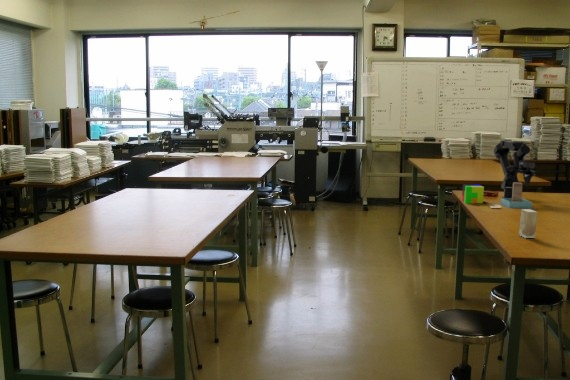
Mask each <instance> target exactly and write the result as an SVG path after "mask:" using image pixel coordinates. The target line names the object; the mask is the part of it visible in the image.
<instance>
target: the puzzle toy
mask: <svg viewBox="0 0 570 380" xmlns="http://www.w3.org/2000/svg"><path fill="white" fill-rule="evenodd" d="M461 191H462V193H461V195H462V196H461V201H462V202H463V203H464V204H473V205H474V204H484V193H485V192H484V191H485V186H482V185H481V184H465V183H464V184H462V190H461Z"/></svg>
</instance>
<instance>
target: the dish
mask: <svg viewBox="0 0 570 380" xmlns="http://www.w3.org/2000/svg"><path fill="white" fill-rule="evenodd" d="M500 200H501V201H500V203H501V204H503V205H505V206H507V207H509V208H532V207H533V202H532V201H530V200H527V199H525V198H521V202H512V198H502V197H501V198H500Z"/></svg>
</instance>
